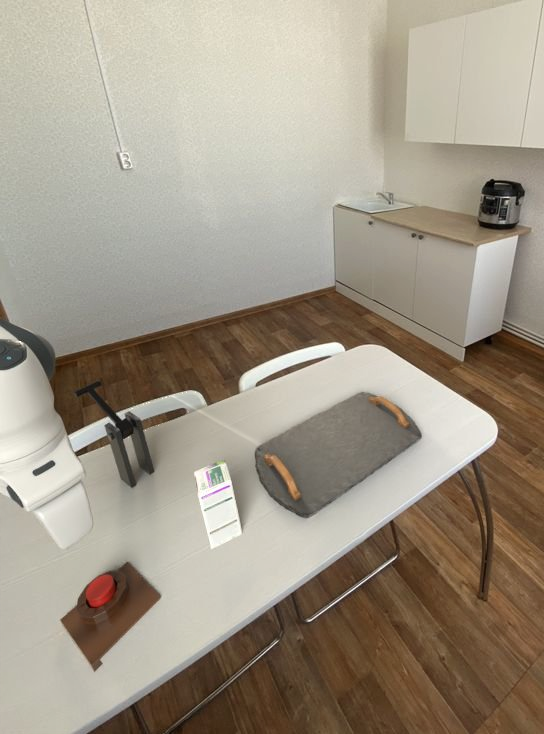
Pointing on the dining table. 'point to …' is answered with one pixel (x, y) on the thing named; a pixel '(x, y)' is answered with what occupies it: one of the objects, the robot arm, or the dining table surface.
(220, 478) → the syrup box
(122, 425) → the lever
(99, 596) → the button
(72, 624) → the control block
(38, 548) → the dining table surface
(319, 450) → the serving tray
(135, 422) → the bracket
